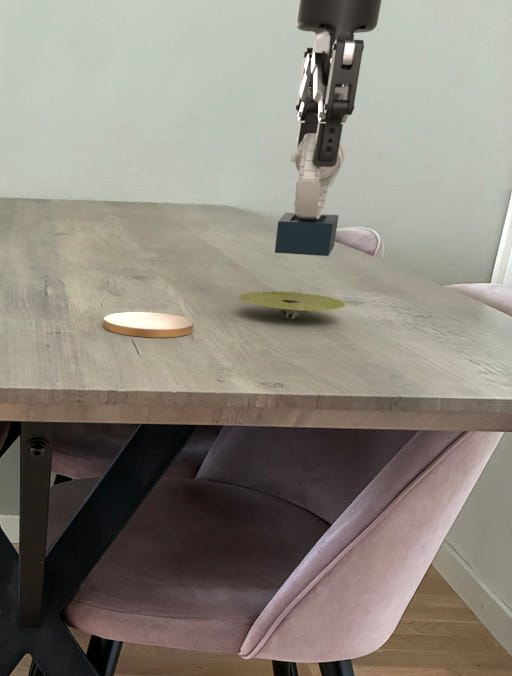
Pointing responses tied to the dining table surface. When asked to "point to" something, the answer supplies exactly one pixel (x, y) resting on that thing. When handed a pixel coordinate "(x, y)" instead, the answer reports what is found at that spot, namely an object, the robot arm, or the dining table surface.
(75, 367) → the dining table surface
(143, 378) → the dining table surface
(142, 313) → the coaster
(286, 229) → the watch
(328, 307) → the olive green disc
